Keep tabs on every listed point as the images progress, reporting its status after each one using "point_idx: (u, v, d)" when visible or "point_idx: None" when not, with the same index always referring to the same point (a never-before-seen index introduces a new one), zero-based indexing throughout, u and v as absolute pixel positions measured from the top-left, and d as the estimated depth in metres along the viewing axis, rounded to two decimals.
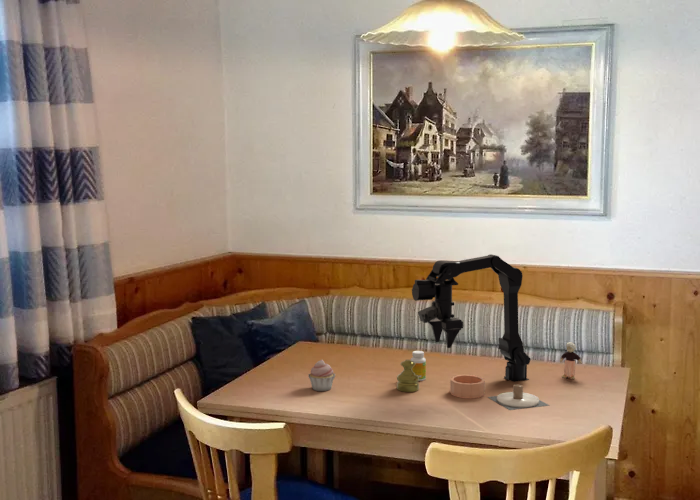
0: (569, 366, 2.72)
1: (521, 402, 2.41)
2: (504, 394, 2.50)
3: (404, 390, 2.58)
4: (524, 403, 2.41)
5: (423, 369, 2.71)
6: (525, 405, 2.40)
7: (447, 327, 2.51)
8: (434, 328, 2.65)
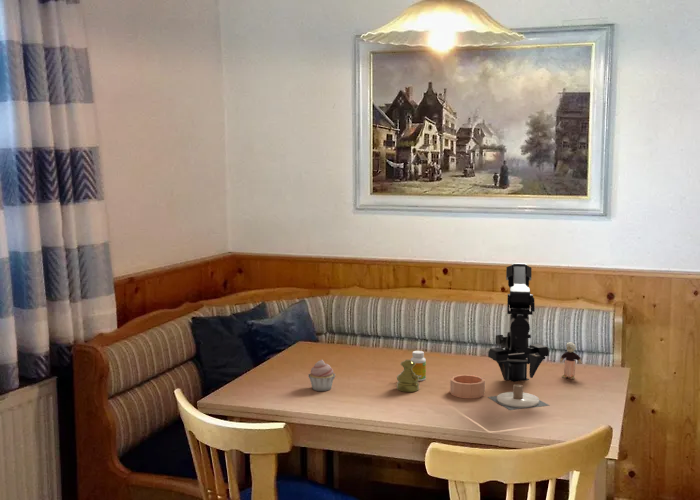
0: (569, 366, 2.72)
1: (521, 402, 2.41)
2: (504, 394, 2.50)
3: (404, 390, 2.58)
4: (524, 403, 2.41)
5: (423, 369, 2.71)
6: (525, 405, 2.40)
7: None
8: (530, 362, 2.47)
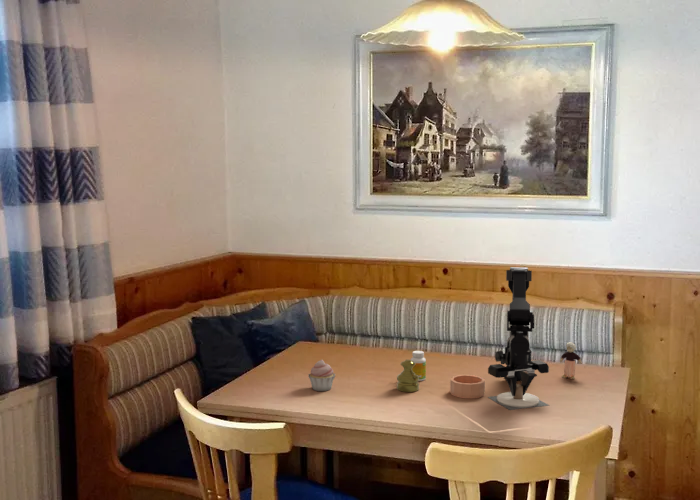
0: (569, 366, 2.72)
1: (521, 402, 2.41)
2: (504, 394, 2.50)
3: (404, 390, 2.58)
4: (524, 403, 2.41)
5: (423, 369, 2.71)
6: (525, 405, 2.40)
7: None
8: (522, 379, 2.47)
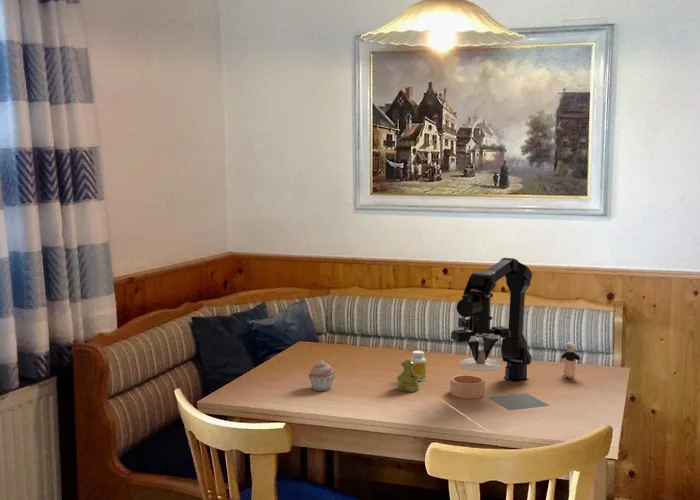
0: (569, 366, 2.72)
1: (484, 366, 2.46)
2: (467, 359, 2.55)
3: (404, 390, 2.58)
4: (486, 366, 2.46)
5: (423, 369, 2.71)
6: (487, 369, 2.45)
7: None
8: (484, 344, 2.52)
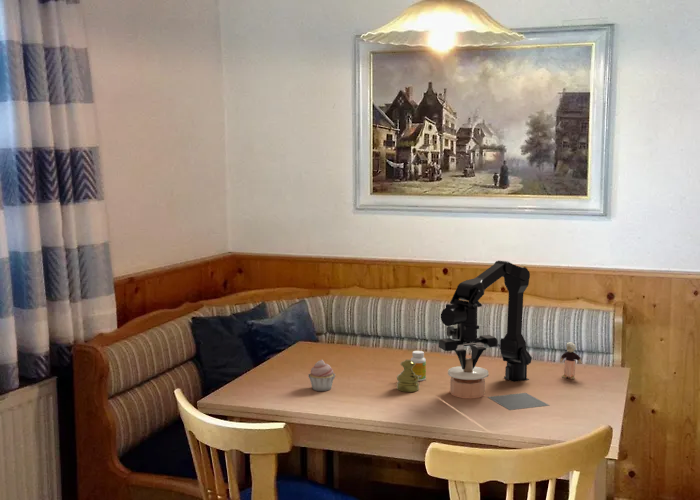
0: (569, 366, 2.72)
1: (470, 375, 2.49)
2: (455, 368, 2.58)
3: (404, 390, 2.58)
4: (472, 375, 2.49)
5: (423, 369, 2.71)
6: (474, 377, 2.48)
7: None
8: (472, 353, 2.55)
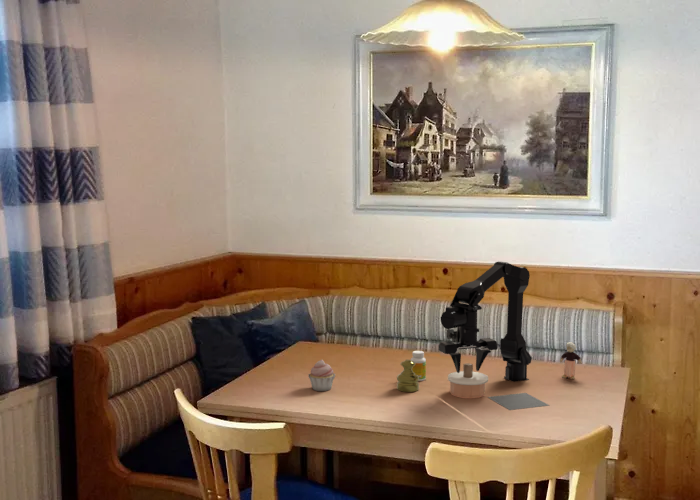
0: (569, 366, 2.72)
1: (470, 380, 2.49)
2: (455, 373, 2.58)
3: (404, 390, 2.58)
4: (472, 380, 2.49)
5: (423, 369, 2.71)
6: (474, 383, 2.48)
7: None
8: (476, 356, 2.56)
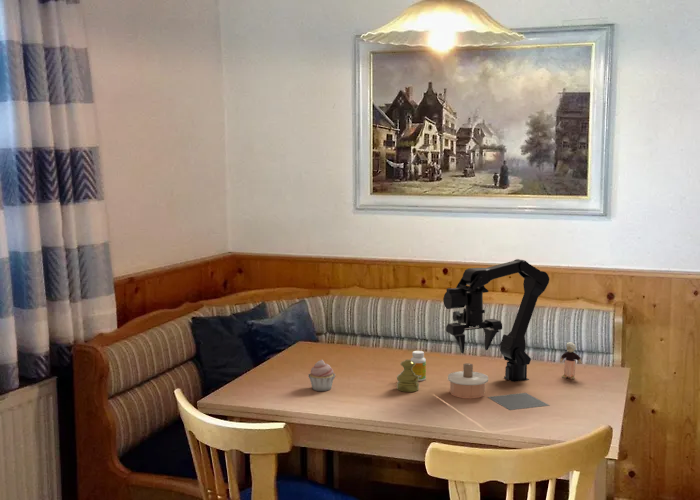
0: (569, 366, 2.72)
1: (470, 380, 2.49)
2: (455, 373, 2.58)
3: (404, 390, 2.58)
4: (472, 380, 2.49)
5: (423, 369, 2.71)
6: (474, 383, 2.48)
7: None
8: (485, 336, 2.66)
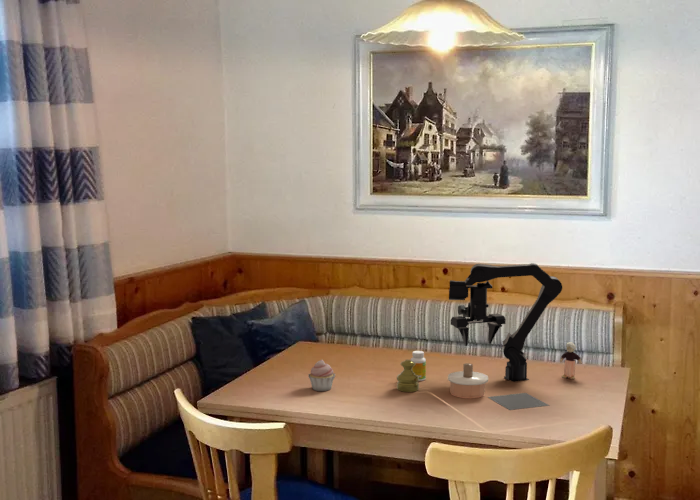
0: (569, 366, 2.72)
1: (470, 380, 2.49)
2: (455, 373, 2.58)
3: (404, 390, 2.58)
4: (472, 380, 2.49)
5: (423, 369, 2.71)
6: (474, 383, 2.48)
7: None
8: (489, 330, 2.74)
